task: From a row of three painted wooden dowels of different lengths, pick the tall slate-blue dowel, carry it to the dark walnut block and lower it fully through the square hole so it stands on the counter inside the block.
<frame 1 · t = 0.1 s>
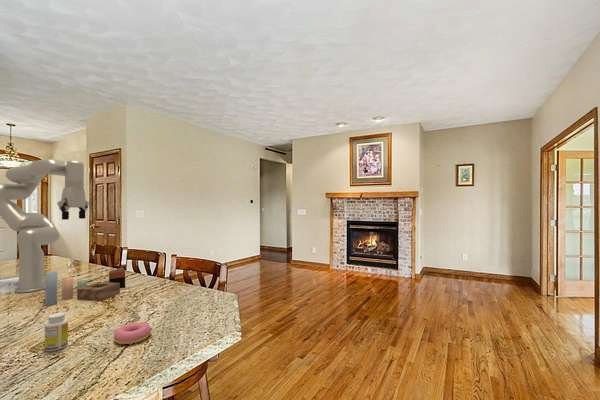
hand: (73, 218, 148), 37 cm above the kitchen island, tool pointing down, fingers open, 9 cm apart
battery: (117, 288, 155), on the kitchen island
tall dowel: (50, 304, 129), on the kitchen island
short dowel: (82, 293, 145), on the kitchen island
hole block: (99, 296, 140), on the kitchen island
medium dowel: (67, 298, 137), on the kitchen island
doughnut: (132, 339, 97), on the kitchen island
supplement bottle: (56, 348, 91), on the kitchen island
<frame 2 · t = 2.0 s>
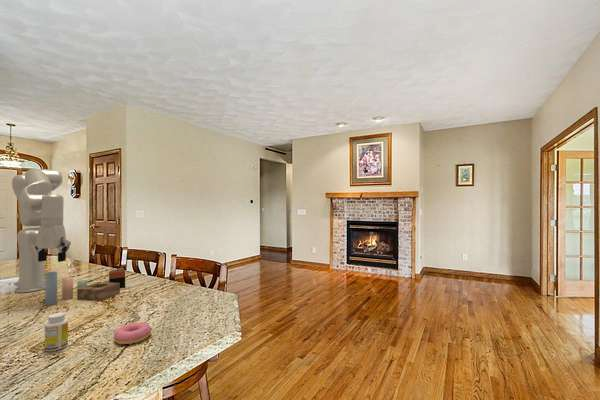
hand: (52, 261, 129), 19 cm above the kitchen island, tool pointing down, fingers open, 9 cm apart
nothing on the kitchen island moved.
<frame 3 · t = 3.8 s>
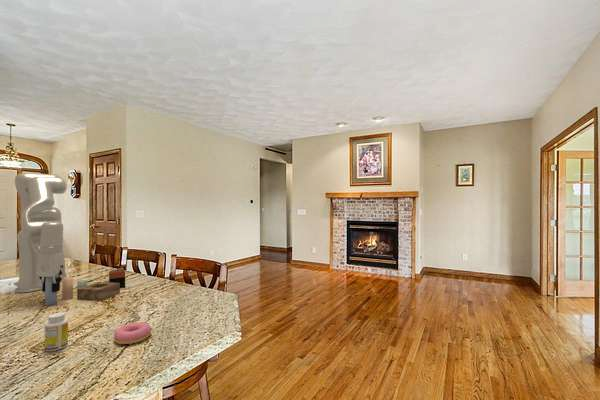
hand: (51, 291, 129), 6 cm above the kitchen island, tool pointing down, fingers closed on tall dowel, 4 cm apart
tall dowel: (50, 304, 129), on the kitchen island, touching gripper
everything else where it was.
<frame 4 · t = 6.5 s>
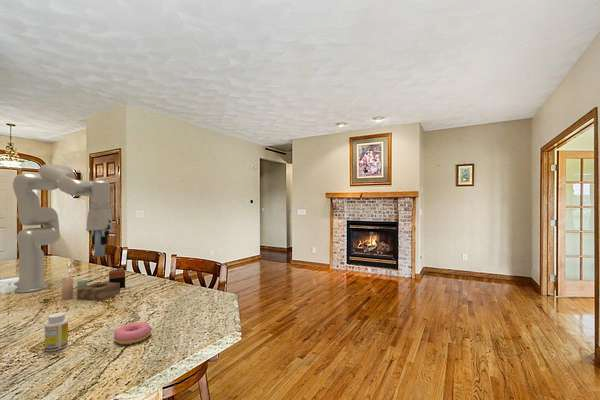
hand: (99, 244, 141), 25 cm above the kitchen island, tool pointing down, fingers closed on tall dowel, 4 cm apart
tall dowel: (99, 256, 141), point 19 cm above the kitchen island, touching gripper
everything else where it was.
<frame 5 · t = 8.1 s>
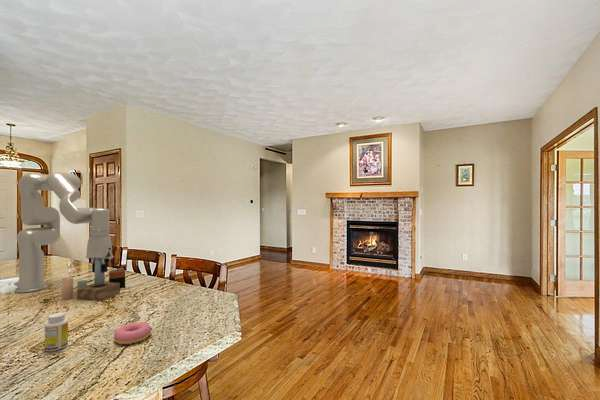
hand: (99, 271, 141), 12 cm above the kitchen island, tool pointing down, fingers closed on tall dowel, 4 cm apart
tall dowel: (99, 283, 140), point 6 cm above the kitchen island, touching gripper
everything else where it was.
when the fingers open (7 cm above the kitchen island, at t = 9.3 s): tall dowel drops 1 cm, resting in hole block.
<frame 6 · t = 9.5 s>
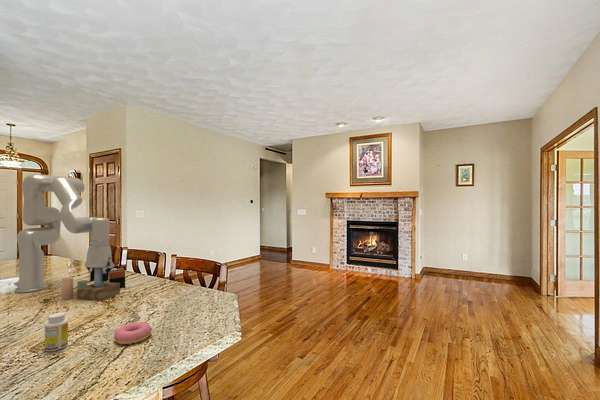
hand: (99, 280, 141), 8 cm above the kitchen island, tool pointing down, fingers open, 5 cm apart
tall dowel: (99, 296, 140), resting in hole block
everything else where it was.
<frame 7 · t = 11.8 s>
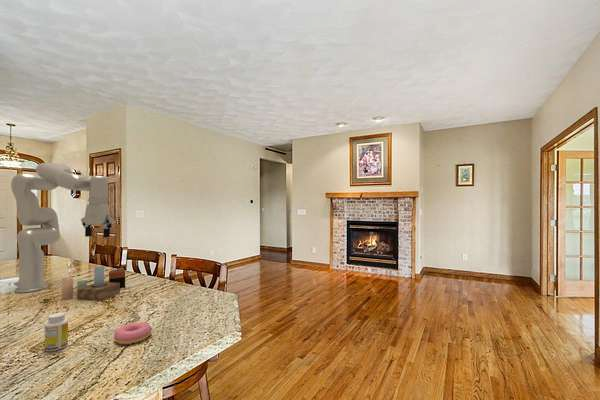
hand: (97, 236, 141), 29 cm above the kitchen island, tool pointing down, fingers open, 9 cm apart
nothing on the kitchen island moved.
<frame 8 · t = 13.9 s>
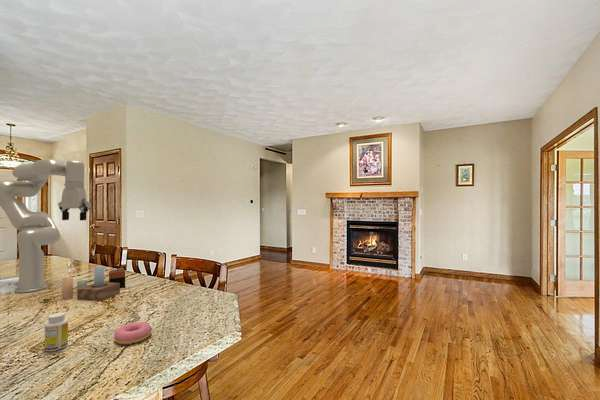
hand: (74, 220, 145), 36 cm above the kitchen island, tool pointing down, fingers open, 9 cm apart
nothing on the kitchen island moved.
at the end: tall dowel 0.1 cm off-centre on the hole block, point 0.0 cm above the hole block's base; tall dowel tilted 0°; the gripper is holding nothing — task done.
